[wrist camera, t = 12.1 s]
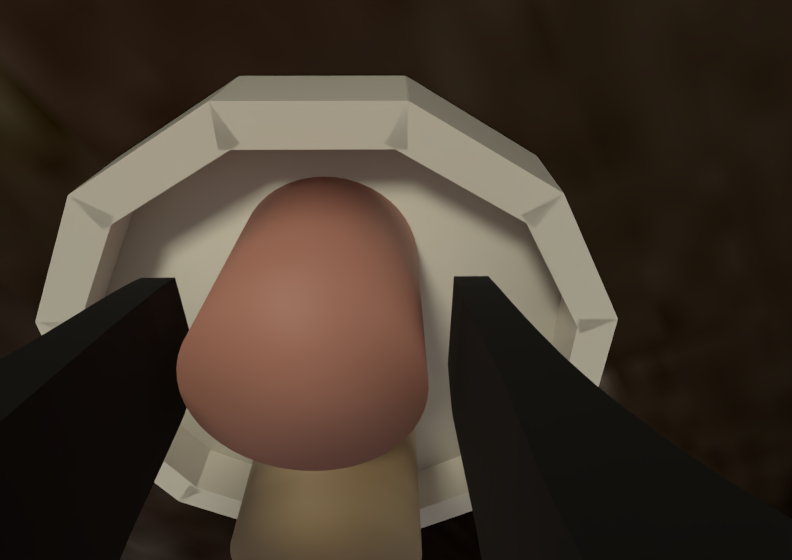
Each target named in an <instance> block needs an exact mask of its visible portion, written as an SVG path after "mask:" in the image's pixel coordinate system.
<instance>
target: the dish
mask: <svg viewBox="0 0 792 560" xmlns="http://www.w3.org/2000/svg"><path fill="white" fill-rule="evenodd" d="M310 177H337V178H343V179H348V180H352V181H355V182H358V183H361V184H363V185H365V186H368V187H370V188H372V189H374V190H375V191H377V192H379V193H380V194H382V195H383V196H384V197H386V198H387V199H388V200H389V201H391V202H392V203H393V204H394V205H395V206H396V207H397V208H398V209H399V211H400V212H401V213H402V215H403V216H404V217H405V219H406V221H407V222H408V224H409V226H410V228H411V230H412V233H413V236H414V238H415V243H416V247H417V258H418V269H419V281H420V292H421V303H422V315H423V326H424V337H425V349H426V360H427V372H428V386H429V390H428V398H427V403H426V406H425V409H424V412H423V414H422V416H421V418H420V420H419V422H418V424H417V425H416V426H415V429H416V448H417V468H418V487H419V506H420V525H421V528H424V527H426V526H429V525H432V524H435V523H438V522H441V521H444V520H447V519H450V518H453V517H456V516H459V515H461V514H464V513H467V512H470V511H472V506H471V501H470V497H469V492H468V487H467V483H466V478H465V473H464V468H463V464H462V459H461V454H460V449H459V445H458V440H457V435H456V430H455V425H454V420H453V415H452V407H451V397H450V386H449V374H448V353H449V338H450V324H451V310H452V296H453V282H454V276H489V277H490V278H491V280H492V281H493V282H494V283H495V284H496V285H497V286H498V287H499V288H500V289H501V290H502V292H503V293H504V294H505V295H506V296H507V297H508V298H509V300H510V301H511V302H512V303H513V304H514V305H515V306H516V307H517V308H518V310H519V311H520V312H521V313H522V314H523V315H524V316H525V317H526V318H527V319H528V320H529V322H530V323H531V324H532V325H533V326H534V327H535V328H536V329H537V330H538V331H539V332H540V333H541V334H542V335H543V336H544V337H545V338H546V339H547V340H548V341H549V342H550V343H551V344H552V345H553V346H554V347H555V348H556V349H557V350H558V351H559V352H560V353H561V354H562V355H563V356H564V357H565V358H566V359H567V360H568V361H569V362H571V363H572V364H573V365H574V366H575V367H576V368H577V369H578V370H580V371H581V372H582V373H583V374H584V375H585V376H586V377H587V378H589V379H590V380H591V381H592V382H593V383H594V384H595V385H596V386H598V387H599V383H600V380H601V376H602V373H603V369H604V366H605V362H606V359H607V355H608V352H609V348H610V345H611V341H612V338H613V334H614V331H615V327H616V324H617V320H618V318H617V316H616V313H615V311H614V309H613V306H612V304H611V302H610V299H609V297H608V295H607V292H606V290H605V288H604V286H603V283H602V281H601V279H600V276H599V274H598V272H597V269H596V267H595V265H594V262H593V260H592V258H591V255H590V253H589V251H588V248H587V246H586V244H585V241H584V239H583V237H582V235H581V232H580V230H579V228H578V225H577V223H576V221H575V218H574V216H573V214H572V211H571V209H570V207H569V204H568V202H567V200H566V197H565V195H564V193H563V192H562V190H561V189H560V188H559V186H558V185H557V183H556V182H555V181H554V179H553V178H552V177H551V175H550V174H549V172H548V171H547V170H546V168H545V167H544V165H543V164H542V163H541V161H540V160H539V158H538V157H537V156H536V155H534V154H533V153H531V152H529V151H528V150H526V149H524V148H523V147H521V146H520V145H518V144H516V143H515V142H513V141H511V140H510V139H508V138H506V137H505V136H503V135H502V134H500V133H498V132H497V131H495V130H493V129H492V128H490V127H489V126H487V125H485V124H484V123H482V122H480V121H479V120H477V119H475V118H474V117H472V116H471V115H469V114H467V113H466V112H464V111H462V110H461V109H459V108H457V107H456V106H454V105H453V104H451V103H449V102H448V101H446V100H444V99H443V98H441V97H439V96H438V95H436V94H435V93H433V92H431V91H430V90H428V89H426V88H425V87H423V86H422V85H420V84H418V83H417V82H415V81H413V80H412V79H410V78H408V77H407V76H406V77H405V76H238V77H237V78H235V79H234V80H232V81H231V82H229V83H228V84H227V85H225V86H224V87H222V88H221V89H219V90H218V91H216V92H215V93H213V94H212V95H210V96H209V97H207V98H206V99H204V100H203V101H201V102H200V103H198V104H197V105H195V106H194V107H192V108H191V109H189V110H188V111H186V112H185V113H183V114H182V115H180V116H179V117H177V118H176V119H174V120H173V121H172V122H170V123H169V124H167V125H166V126H164V127H163V128H161V129H160V130H158V131H157V132H155V133H154V134H152V135H151V136H149V137H148V138H146V139H145V140H143V141H142V142H140V143H139V144H137V145H136V146H134V147H133V148H131V149H130V150H128V151H127V152H125V153H124V154H122V155H121V156H119V157H118V158H117V159H115V160H114V161H113V162H111V163H110V164H109V165H107V166H106V167H105V168H103V169H102V170H101V171H99V172H98V173H97V174H95V175H94V176H93V177H91V178H90V179H89V180H87V181H86V182H85V183H83V184H82V185H81V186H79V187H78V188H77V189H75V190H74V191H73V192H71V193H70V194H69V195H68V197H67V201H66V205H65V209H64V212H63V216H62V220H61V224H60V228H59V232H58V236H57V240H56V243H55V247H54V251H53V255H52V259H51V263H50V267H49V271H48V274H47V278H46V282H45V286H44V290H43V294H42V298H41V302H40V305H39V309H38V313H37V317H36V321H35V322H36V324H37V327H38V329H39V331H40V333H41V335H43V334H45V333H47V332H48V331H50V330H52V329H53V328H55V327H57V326H58V325H60V324H61V323H63V322H65V321H66V320H68V319H70V318H71V317H73V316H75V315H76V314H78V313H80V312H81V311H83V310H84V309H86V308H88V307H89V306H91V305H93V304H94V303H96V302H98V301H99V300H101V299H103V298H104V297H106V296H108V295H109V294H111V293H113V292H114V291H116V290H118V289H120V288H121V287H123V286H125V285H127V284H129V283H131V282H133V281H135V280H137V279H139V278H175V279H176V283H177V287H178V290H179V294H180V298H181V301H182V305H183V309H184V313H185V316H186V320H187V324H188V327H189V329H190V328H191V326H192V324H193V322H194V320H195V318H196V316H197V314H198V313H199V311H200V309H201V307H202V305H203V303H204V301H205V300H206V298H207V296H208V294H209V292H210V290H211V288H212V286H213V285H214V283H215V281H216V279H217V277H218V275H219V273H220V271H221V270H222V268H223V266H224V264H225V262H226V260H227V258H228V257H229V255H230V253H231V251H232V249H233V247H234V245H235V243H236V242H237V240H238V238H239V236H240V234H241V232H242V230H243V228H244V227H245V225H246V223H247V221H248V219H249V217H250V216H251V214H252V212H253V211H254V209H255V208H256V207H257V205H258V204H259V203H260V202H261V201H262V200H263V199H264V198H265V197H266V196H267V195H269V194H270V193H272V192H273V191H275V190H276V189H278V188H280V187H282V186H284V185H286V184H288V183H291V182H294V181H296V180H300V179H305V178H310ZM252 462H253V460H252V459H249V458H246V457H244V456H242V455H240V454H238V453H236V452H234V451H232V450H230V449H229V448H227V447H226V446H224V445H222V444H221V443H219V442H218V441H217V440H215V439H214V438H213V437H212V436H210V435H209V434H208V433H207V432H206V431H205V430H204V429H203V428H202V427H201V426H200V425H199V424H198V423H197V422H196V420H195V419H194V418H193V417H192V415H191V414H190V412H189V410H188V409H187V408H186V411H185V414H184V417H183V419H182V421H181V424H180V426H179V428H178V431H177V433H176V435H175V437H174V440H173V442H172V444H171V446H170V448H169V451H168V453H167V455H166V457H165V459H164V462H163V464H162V466H161V468H160V470H159V472H158V475H157V477H156V479H155V481H154V483H156V484H157V485H158V486H160V487H161V488H162V489H164V490H165V491H166V492H168V493H169V494H170V495H171V496H173V497H174V498H175V499H177V500H178V501H180V502H183V503H186V504H189V505H193V506H196V507H199V508H202V509H206V510H209V511H212V512H215V513H219V514H222V515H225V516H228V517H232V518H235V519H237V518H238V514H239V510H240V507H241V503H242V499H243V496H244V492H245V488H246V484H247V481H248V477H249V473H250V470H251V466H252Z"/></svg>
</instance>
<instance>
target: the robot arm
mask: <svg viewBox="0 0 792 560" xmlns="http://www.w3.org/2000/svg"><path fill="white" fill-rule="evenodd" d="M188 331H189V327H188V324H187V320H186V316H185V313H184V309H183V305H182V301H181V298H180V294H179V290H178V287H177V283H176V279H175V278H139V279H137V280H135V281H133V282H131V283H129V284H127V285H125V286H123V287H121V288H120V289H118V290H116V291H114V292H113V293H111V294H109V295H108V296H106V297H104V298H103V299H101V300H99V301H98V302H96V303H94V304H93V305H91V306H89V307H88V308H86V309H84V310H83V311H81V312H80V313H78V314H76V315H75V316H73V317H71V318H70V319H68V320H66V321H65V322H63V323H61V324H60V325H58V326H57V327H55V328H53V329H52V330H50V331H48V332H47V333H45V334H43V335H42V336H40V337H38V338H37V339H35V340H33V341H32V342H30V343H28V344H27V345H25V346H23V347H21V348H20V349H18V350H16V351H14V352H13V353H11V354H9V355H7V356H6V357H4V358H2V359H0V560H120V558H121V555H122V553H123V550H124V548H125V546H126V543H127V541H128V538H129V536H130V533H131V531H132V529H133V527H134V525H135V522H136V520H137V518H138V516H139V514H140V512H141V509H142V507H143V505H144V503H145V501H146V499H147V496H148V494H149V492H150V490H151V488H152V485H153V483H154V481H155V479H156V477H157V475H158V472H159V470H160V468H161V466H162V464H163V462H164V459H165V457H166V455H167V453H168V451H169V448H170V446H171V444H172V442H173V440H174V437H175V435H176V433H177V431H178V428H179V426H180V424H181V421H182V419H183V417H184V414H185V411H186V408H187V407H186V405H185V404H184V401H183V399H182V396H181V394H180V391H179V387H178V383H177V371H176V367H177V359H178V354H179V351H180V348H181V345H182V343H183V341H184V339H185V337H186V335H187V333H188ZM448 374H449V386H450V397H451V407H452V415H453V420H454V425H455V430H456V435H457V440H458V445H459V449H460V454H461V459H462V464H463V468H464V473H465V478H466V483H467V487H468V492H469V497H470V501H471V506H472V511H473V516H474V520H475V525H476V530H477V536H478V541H479V547H480V553H481V560H792V518H790V517H788V516H787V515H785V514H783V513H781V512H780V511H778V510H776V509H774V508H773V507H771V506H769V505H768V504H766V503H764V502H763V501H761V500H759V499H758V498H756V497H754V496H753V495H751V494H750V493H748V492H746V491H745V490H743V489H741V488H740V487H738V486H736V485H735V484H733V483H732V482H730V481H728V480H727V479H725V478H724V477H722V476H721V475H719V474H718V473H716V472H715V471H713V470H712V469H710V468H709V467H707V466H705V465H704V464H702V463H701V462H699V461H698V460H696V459H695V458H693V457H692V456H690V455H689V454H687V453H686V452H684V451H683V450H681V449H680V448H678V447H677V446H675V445H674V444H672V443H671V442H670V441H668V440H667V439H665V438H664V437H663V436H661V435H660V434H658V433H657V432H655V431H654V430H653V429H651V428H650V427H649V426H647V425H646V424H645V423H644V422H642V421H641V420H640V419H638V418H637V417H636V416H634V415H633V414H632V413H630V412H629V411H628V410H626V409H625V408H624V407H623V406H621V405H620V404H619V403H617V402H616V401H615V400H613V399H612V398H611V397H610V396H609V395H607V394H606V393H605V392H604V391H602V390H601V389H600V388H599V387H598V386H596V385H595V384H594V383H593V382H592V381H591V380H590V379H589V378H587V377H586V376H585V375H584V374H583V373H582V372H581V371H580V370H578V369H577V368H576V367H575V366H574V365H573V364H572V363H571V362H569V361H568V360H567V359H566V358H565V357H564V356H563V355H562V354H561V353H560V352H559V351H558V350H557V349H556V348H555V347H554V346H553V345H552V344H551V343H550V342H549V341H548V340H547V339H546V338H545V337H544V336H543V335H542V334H541V333H540V332H539V331H538V330H537V329H536V328H535V327H534V326H533V325H532V324H531V323H530V322H529V320H528V319H527V318H526V317H525V316H524V315H523V314H522V313H521V312H520V311H519V310H518V308H517V307H516V306H515V305H514V304H513V303H512V302H511V301H510V300H509V298H508V297H507V296H506V295H505V294H504V293H503V292H502V290H501V289H500V288H499V287H498V286H497V285H496V284H495V283H494V282H493V281H492V280H491V278H490V277H489V276H454V282H453V296H452V310H451V324H450V338H449V353H448Z"/></svg>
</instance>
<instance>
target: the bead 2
mask: <svg viewBox="0 0 792 560" xmlns="http://www.w3.org/2000/svg"><path fill="white" fill-rule="evenodd" d="M230 552H231V557H232V560H421V559H422V544H421V525H420V506H419V487H418V468H417V448H416V429H415V428H414V429H413V431H412V432H411V433H410V434H409V435H408V436H407V437H406V438H405V439H404V440H403V441H402V442H401V443H399V444H398V445H397V446H396V447H394V448H393V449H391V450H390V451H388V452H386V453H385V454H383V455H381V456H379V457H377V458H375V459H373V460H371V461H368V462H365V463H362V464H359V465H355V466H351V467H347V468H342V469H335V470H326V471H300V470H291V469H284V468H279V467H274V466H270V465H267V464H263V463H260V462H257V461H254V460H253V462H252V466H251V470H250V473H249V477H248V481H247V484H246V488H245V492H244V496H243V499H242V503H241V507H240V510H239V514H238V518H237V521H236V525H235V529H234V532H233V536H232V540H231V543H230Z"/></svg>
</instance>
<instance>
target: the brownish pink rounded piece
mask: <svg viewBox="0 0 792 560" xmlns="http://www.w3.org/2000/svg"><path fill="white" fill-rule="evenodd" d="M176 371H177V383H178V387H179V391H180V394H181V396H182V399H183V401H184V404H185V405H186V407H187V409H188V410H189V412H190V414H191V415H192V417H193V418H194V419H195V420H196V422H197V423H198V424H199V425H200V426H201V427H202V428H203V429H204V430H205V431H206V432H207V433H208V434H209V435H210V436H212V437H213V438H214V439H215V440H217V441H218V442H219V443H221V444H222V445H224V446H226V447H227V448H229V449H230V450H232V451H234V452H236V453H238V454H240V455H242V456H244V457H246V458H249V459H252V460H254V461H257V462H260V463H263V464H267V465H270V466H274V467H279V468H284V469H291V470H300V471H326V470H335V469H342V468H347V467H351V466H355V465H359V464H362V463H365V462H368V461H371V460H373V459H375V458H377V457H379V456H381V455H383V454H385V453H386V452H388V451H390V450H391V449H393V448H394V447H396V446H397V445H398V444H399V443H401V442H402V441H403V440H404V439H405V438H406V437H407V436H408V435H409V434H410V433H411V432H412V431H413V429H414V428H415V426H416V425H417V424H418V422H419V420H420V418H421V416H422V414H423V412H424V409H425V406H426V403H427V398H428V390H429V386H428V372H427V360H426V349H425V337H424V326H423V315H422V303H421V292H420V281H419V269H418V258H417V247H416V243H415V238H414V236H413V233H412V230H411V228H410V226H409V224H408V222H407V221H406V219H405V217H404V216H403V215H402V213H401V212H400V211H399V209H398V208H397V207H396V206H395V205H394V204H393V203H392V202H391V201H389V200H388V199H387V198H386V197H384V196H383V195H382V194H380V193H379V192H377V191H375V190H374V189H372V188H370V187H368V186H365V185H363V184H361V183H358V182H355V181H352V180H348V179H343V178H337V177H310V178H305V179H300V180H296V181H294V182H291V183H288V184H286V185H284V186H282V187H280V188H278V189H276V190H275V191H273V192H272V193H270V194H269V195H267V196H266V197H265V198H264V199H263V200H262V201H261V202H260V203H259V204H258V205H257V207H256V208H255V209H254V211H253V212H252V214H251V216H250V217H249V219H248V221H247V223H246V225H245V227H244V228H243V230H242V232H241V234H240V236H239V238H238V240H237V242H236V243H235V245H234V247H233V249H232V251H231V253H230V255H229V257H228V258H227V260H226V262H225V264H224V266H223V268H222V270H221V271H220V273H219V275H218V277H217V279H216V281H215V283H214V285H213V286H212V288H211V290H210V292H209V294H208V296H207V298H206V300H205V301H204V303H203V305H202V307H201V309H200V311H199V313H198V314H197V316H196V318H195V320H194V322H193V324H192V326H191V328H190V329H189V331H188V333H187V335H186V337H185V339H184V341H183V343H182V345H181V348H180V351H179V354H178V359H177V367H176Z"/></svg>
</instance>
